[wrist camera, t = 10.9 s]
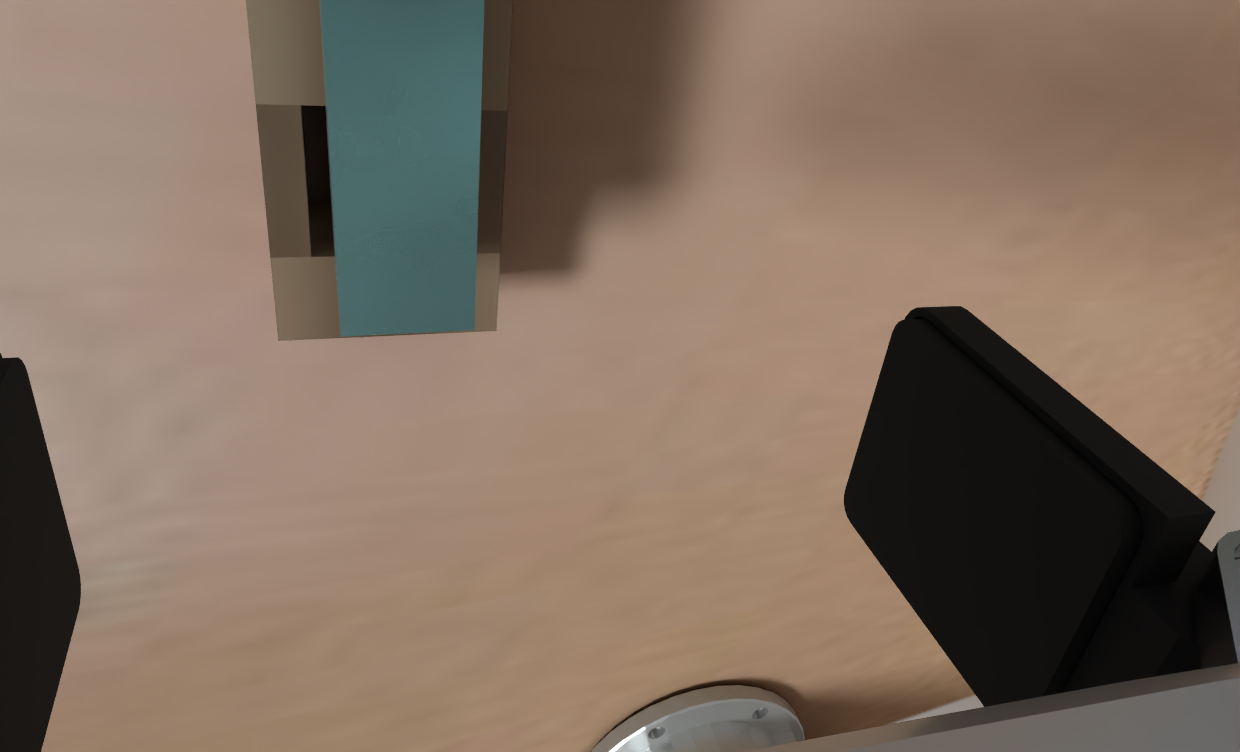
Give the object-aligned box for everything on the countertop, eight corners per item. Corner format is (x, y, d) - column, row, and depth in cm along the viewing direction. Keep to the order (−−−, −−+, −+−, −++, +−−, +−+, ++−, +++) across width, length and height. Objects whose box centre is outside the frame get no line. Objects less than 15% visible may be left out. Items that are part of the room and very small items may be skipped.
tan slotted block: (500, -347, 21) (531, -360, 19) (477, 275, 30) (496, 330, 27) (217, -396, 20) (206, -418, 17) (279, 281, 28) (278, 340, 25)
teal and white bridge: (433, -213, 22) (490, -194, 16) (433, 196, 28) (474, 330, 22) (303, -228, 22) (307, -216, 15) (329, 197, 27) (340, 336, 21)
